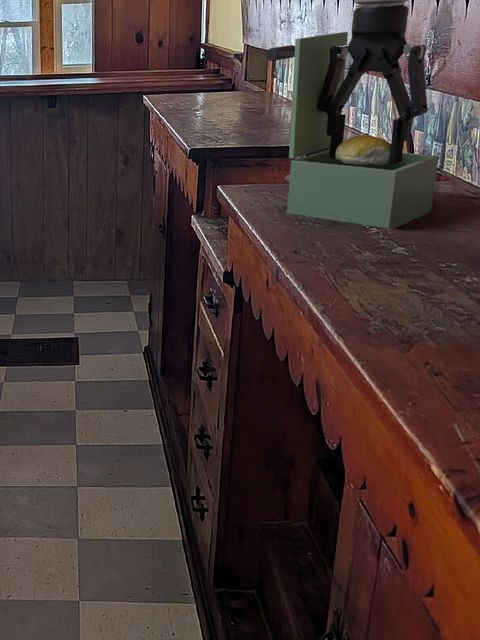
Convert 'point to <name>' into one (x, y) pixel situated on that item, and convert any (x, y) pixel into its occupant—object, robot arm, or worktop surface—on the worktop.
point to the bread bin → (362, 189)
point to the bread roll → (364, 151)
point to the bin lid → (309, 89)
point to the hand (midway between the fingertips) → (364, 159)
